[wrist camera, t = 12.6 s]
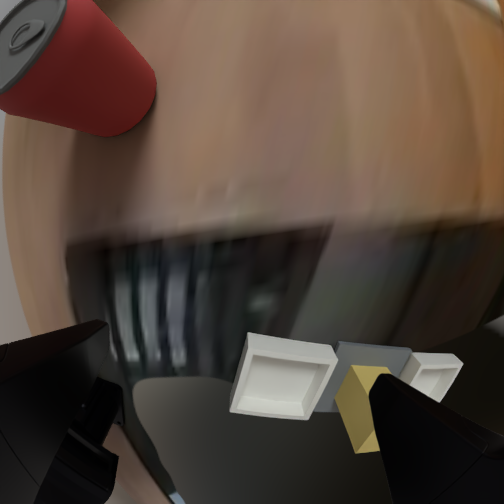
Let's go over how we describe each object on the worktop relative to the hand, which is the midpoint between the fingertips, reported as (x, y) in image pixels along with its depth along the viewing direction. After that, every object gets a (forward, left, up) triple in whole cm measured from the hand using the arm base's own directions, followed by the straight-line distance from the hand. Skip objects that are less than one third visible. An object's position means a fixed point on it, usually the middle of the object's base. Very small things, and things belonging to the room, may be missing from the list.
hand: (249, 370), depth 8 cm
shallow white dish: (-9, -5, -12) cm, 16 cm away
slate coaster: (-9, -13, -12) cm, 20 cm away
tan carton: (-9, -13, -12) cm, 19 cm away
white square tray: (-9, -21, -12) cm, 26 cm away
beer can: (+10, +12, -12) cm, 20 cm away
